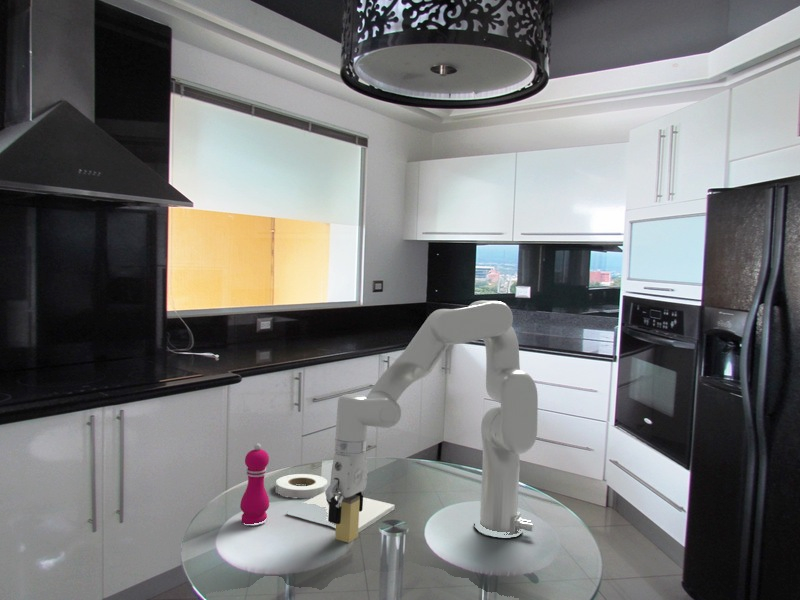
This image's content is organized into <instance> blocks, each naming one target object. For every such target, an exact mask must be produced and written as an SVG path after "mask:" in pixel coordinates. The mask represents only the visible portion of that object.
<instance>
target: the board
mask: <svg viewBox="0 0 800 600" xmlns="http://www.w3.org/2000/svg"><path fill="white" fill-rule="evenodd" d="M339 493H340V492H339ZM335 499H336V500H337V496H335ZM302 503H307V504H316V505H318V506H320V507H326V508H325V509H327V510H326V512H327V513H328V514H327V515H329V505H328V502H327V500H326V494H325V492H324V493H321V494H319V495H317V496H315V497H313V498H308V499H307V500H305V501H303V502H302ZM394 510H395V504H393V503H388V502H385V501H380V500H376V499H372V498H368V497H365V496H363V508H362V511H361V512H359V525H358V534H359V533H361V532H362V531H364V530H365V529H367V528H368V527H370V526H371V525H374V523H376V522H377V521H379V520H380V519H382V518H384V517H385V516H387V515H388V514H389V513H391V512H392V511H394ZM326 518H327V519H326V520H327V522H329V521H328V517H326ZM326 520H325V521H326ZM330 523H332V522H330ZM332 524H334V525H336V524H335V523H332Z"/></svg>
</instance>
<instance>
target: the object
mask: <svg viewBox="0 0 800 600" xmlns="http://www.w3.org/2000/svg"><path fill="white" fill-rule="evenodd" d="M296 484H306V485H308V486H306V485H298V486H296ZM327 488H328V480H327V479H326V478H325V477H322V476H321V475H317V474H311V473H310V474H309V473H296V474H295V473H294V474H288V475H284V476H281V477H279V478H278V479H276V481H275V493H276V494H277V493H278V494H277V495H279V494H280V495H279V496H281V495H283V496H282V497H284V496H288V497H297V498H304V499H311V498H312V497H315V496H317V495H319V494H321V493H324V492H325V491H326V490H327ZM288 497H287V498H288ZM297 498H296V499H297Z"/></svg>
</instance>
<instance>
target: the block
mask: <svg viewBox="0 0 800 600" xmlns="http://www.w3.org/2000/svg"><path fill="white" fill-rule="evenodd" d="M338 498H339V497H337V500H338ZM359 503H360V496H358V495H353V496H351V497H349V498H345V497H344V498H343V500H342V502H341V505H340V507H342V509H341V523H340V524H336V528H335V532H334V533H335V534H334V535H335V537H334V538H336V539H335V540H337V541H342V542H344V543H351V542H352V541H354V540H355V539H357V538H358V537H359V533H358V525H359Z"/></svg>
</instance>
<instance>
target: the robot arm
mask: <svg viewBox="0 0 800 600" xmlns="http://www.w3.org/2000/svg"><path fill="white" fill-rule="evenodd" d="M513 322H514V316H513V312H512V310H511V307H509V305H507V304H506V303H505V302H502V301H498V300H477V301H474V302H472V303H470V304H469V305H468V306H467V307H461V308H451V309H450V308H439V309H436V310H434V311H433V312H432V313H430V314H429V316H427V318H426V320H425V321H424V323H423V324H422V325H421V327H420V328H419V330H418V331H417V332H416V333H415V335H414V337H412V339H411V341H410V342H409V344H408V345H407V346H406V348H405V349H404V351H402V353H401V354H400V355H399V356H398V357H397V358H396V359H395V361H393V363H391V365H390V366H389V367H388V368H387V369H386V370H385V371H384V372H383V373H382V375H380V377H379V379H378V380H377V381H376V383H375V384H374V385H373V386H372V388H371V390H370V391H369V392H368V394H367V395H366V396H365V395H362V394H356V393H346V394H342V395H340V396H339V397H338V399H337V409H336V411H337V412H336V421H335V422H336V425H335V435H334V436H335V438H334V439H335V440H334V455H333V460H332V466H331V473H330V484H329V486H327V490H326V491H325V494H326V500H327V502H328V505H329V515H328V521H329V522H332V523H335V524H340V523H341V509H342V507H340V505H341V502H342V500H343V498H344V497H345V498H349V497H351V496H353V495H358V496H360V503H359V512H361V511H362V508H363V497H364V494H365V491H366V490H365V489H366V488H367V484H368V482H367V481H368V477H369V473H368V458H367V449H366V447H367V446H366V445H367V432H368V430H367V429H368V427H373V428H379V429H391V428H393V427H395V426H396V425H397V424H398V423H399V422H400V421H401V418H402V408H401V406H400V405H399V402H398V400H399V399H400V397H401V396H402V395H403V394H404V392H405V391H407V390H408V388H409V387H410V386H411V385H412V384H414V383H415V382H417V381H419V380H421V379H424V378H426V376H429V374H430V373H432V370H433V369H434V368H435V366H436V365H437V363H438V362H439V361H440V359H441V358H442V356H444V354H445V352H446V350H447V349H448V348H449V346H450V345H460V344H467V343H473V342H476V341H480V340H483V343H484V346H485V354H486V355H485V356H486V360H485V361H486V368H485V369H486V370H485V372H486V373H485V374H486V375H485V388H486V392H487V394H488V396H489V397H490V398H491V399H492V400H493V401H496V402H497V403H499V404H500V406H494V407H491V408H489V409H488V410H487V411H486V412H485V414H484V415H483V417H482V420H481V425H480V426H481V427H480V431H481V432H480V433H481V442H482V467H481V468H482V469H481V486H480V487H481V489H480V490H481V491H480V510H479V512H480V513H479V514H480V515H479V517H480V524H481V525H482V526H483V527H485V528H486V529H489V530H492V531H497V532H506V533H507V532H510V533H509V534H508V533H507V534H508V535H513V534H517V533H519V532H518V531H519V530H520V529H523V531H527V532H532V533H533V531H534V523H532V521H531V520H529V519H524V518H523V517H521V515H522V514H521V512H520V511H518V505H519V488H520V487H519V486H520V485H519V484H520V465H521V464H520V463H521V462H520V461H521V460H520V455H522V454H526V453H527V452H529V451H530V450H531V449H532V448H533V447H534V445H535V443H536V440H537V435H538V414H539V413H538V411H539V410H538V409H539V408H538V405H539V404H538V395H539V394H538V390H537V389H538V388H537V385H536V382H535V381H534V379H533V377H532V376H531V375H530V374H529V373H527V372H525V371H523V370H521V368H520V367H521V366H520V365H521V364H520V363H521V362H520V347H519V345H520V344H519V340H518V337H517V334H516V331H515V329H514V327H513V326H512V325H513ZM339 492H340V493H339ZM335 496H337V497H339V498H338V500H336V499H335ZM517 530H518V531H517ZM520 531H521V530H520ZM507 534H506V535H507ZM504 535H505V534H504Z"/></svg>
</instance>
